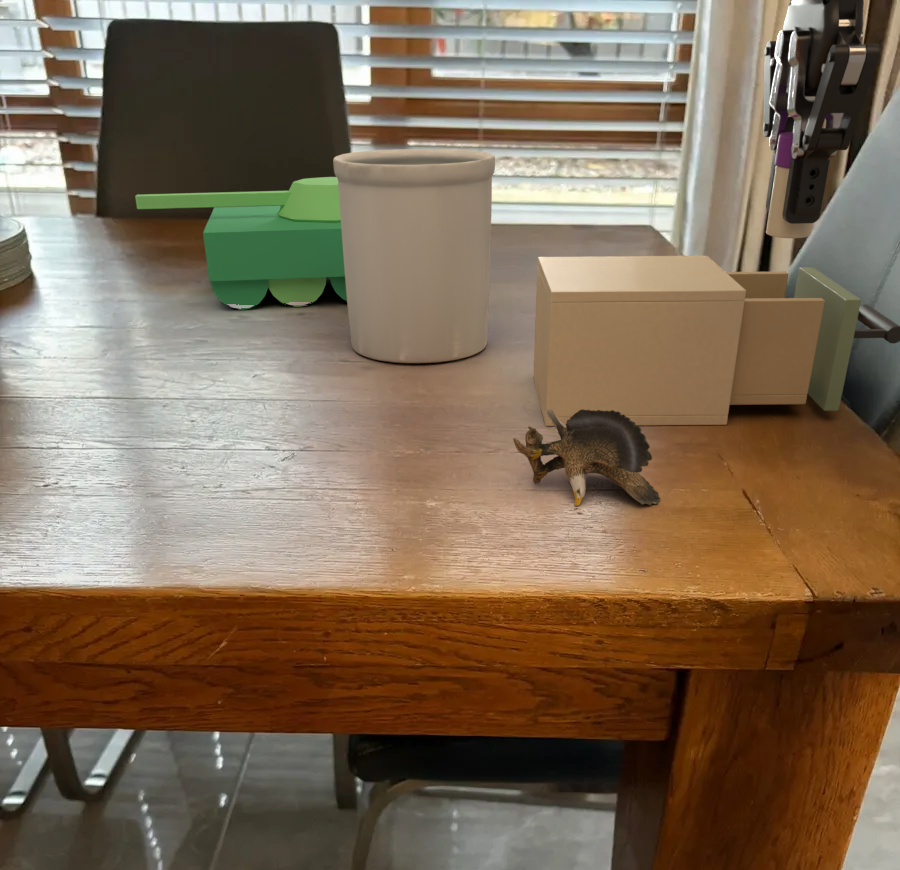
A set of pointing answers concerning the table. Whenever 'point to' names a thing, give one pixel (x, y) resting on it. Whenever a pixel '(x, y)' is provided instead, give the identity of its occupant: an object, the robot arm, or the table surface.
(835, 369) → the drawer
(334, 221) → the toy tank
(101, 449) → the table surface
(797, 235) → the glue stick
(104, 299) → the table surface
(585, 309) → the cabinet
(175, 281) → the table surface
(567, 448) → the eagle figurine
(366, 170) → the utensil holder
